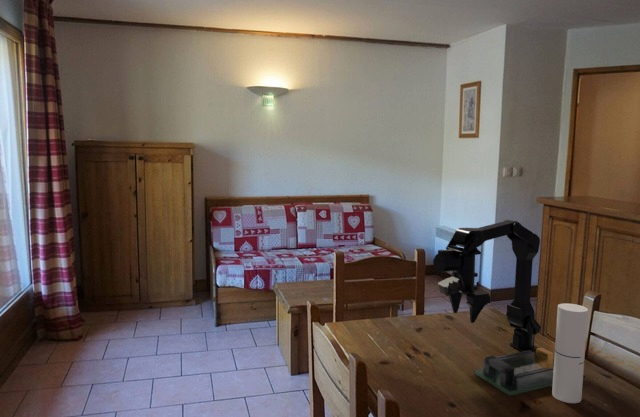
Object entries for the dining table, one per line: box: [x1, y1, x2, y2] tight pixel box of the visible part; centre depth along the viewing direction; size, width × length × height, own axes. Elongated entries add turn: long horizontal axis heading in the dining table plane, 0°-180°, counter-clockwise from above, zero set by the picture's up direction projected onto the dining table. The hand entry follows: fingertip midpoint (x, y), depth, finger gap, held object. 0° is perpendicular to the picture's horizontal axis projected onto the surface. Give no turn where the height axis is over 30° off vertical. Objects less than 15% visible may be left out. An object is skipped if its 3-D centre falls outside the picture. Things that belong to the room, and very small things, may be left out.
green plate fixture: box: [474, 350, 554, 396], centre depth 143 cm, size 22×14×6 cm, turn 113°
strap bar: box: [514, 347, 555, 376], centre depth 144 cm, size 14×4×5 cm, turn 113°
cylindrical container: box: [551, 302, 589, 404], centre depth 131 cm, size 7×7×25 cm
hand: (463, 317), depth 153 cm, fingers open, 9 cm apart
